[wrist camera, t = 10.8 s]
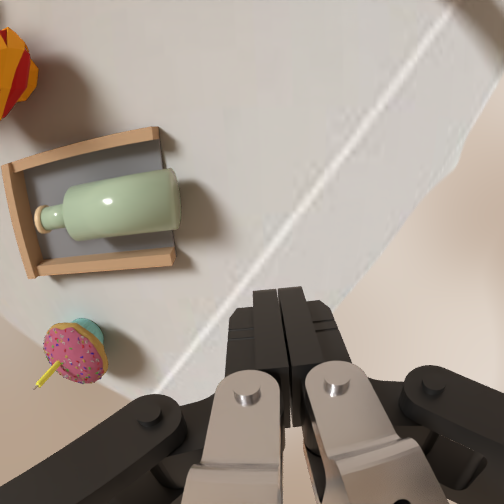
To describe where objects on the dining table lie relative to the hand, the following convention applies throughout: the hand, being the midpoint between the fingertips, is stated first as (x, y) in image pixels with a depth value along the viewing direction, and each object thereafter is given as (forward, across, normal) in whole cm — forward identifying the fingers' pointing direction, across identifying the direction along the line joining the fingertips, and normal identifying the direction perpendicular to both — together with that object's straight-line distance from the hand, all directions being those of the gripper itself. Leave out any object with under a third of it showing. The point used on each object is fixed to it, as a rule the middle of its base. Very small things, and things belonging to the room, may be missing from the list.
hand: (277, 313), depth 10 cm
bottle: (+18, +7, 0) cm, 20 cm away
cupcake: (+21, +23, +16) cm, 35 cm away
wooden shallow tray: (+21, +18, 0) cm, 28 cm away
